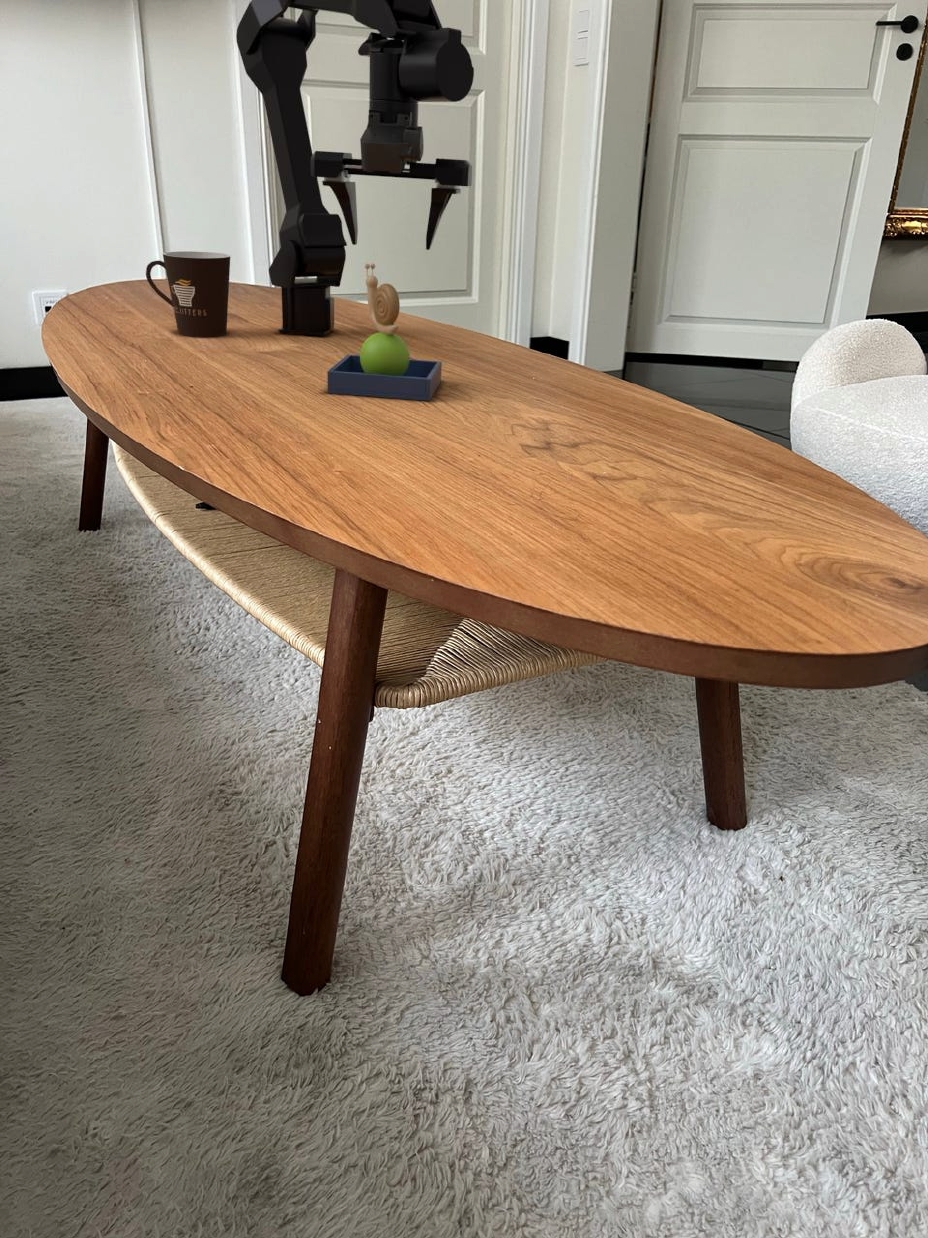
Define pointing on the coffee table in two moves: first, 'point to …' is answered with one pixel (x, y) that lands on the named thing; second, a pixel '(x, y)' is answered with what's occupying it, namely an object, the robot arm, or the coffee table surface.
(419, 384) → the blue tray
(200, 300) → the coffee mug
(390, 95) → the robot arm
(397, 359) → the snail figurine
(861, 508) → the coffee table surface
